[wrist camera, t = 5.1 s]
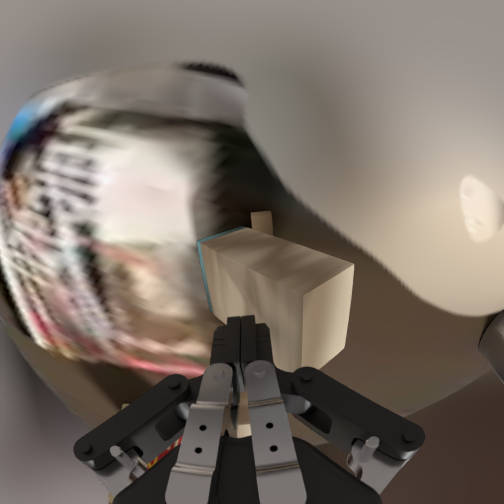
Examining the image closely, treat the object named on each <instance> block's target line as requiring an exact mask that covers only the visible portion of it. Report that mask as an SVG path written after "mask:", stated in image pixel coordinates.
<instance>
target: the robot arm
mask: <svg viewBox="0 0 504 504" xmlns="http://www.w3.org/2000/svg"><path fill="white" fill-rule="evenodd" d="M479 351H480V353H481V354H482V355H483V356H484V358H485V359H486V360H487V362H488V363H489V364H490V365H491V367H492V368H493V369H494V371H495V372H496V373H497V375H498V376H499V377H500V379H501V380H502V382H503V383H504V310H502V311H501V312H500V313H499V314H498V315H497V316H496V317H495V318H494V320H493V321H492V322H491V323H490V325H489V326H488V328H487V329H486V331H485V333H484V335H483V337H482V339H481V341H480V344H479ZM245 387H246V392H247V396H248V410H249V419H250V427H251V435H250V436H246V437H242V438H237V431H238V421H239V412H240V392H245ZM286 412H288V413H292V415H293V416H294V417H295V418H296V419H298V420H299V421H300V422H302V423H303V424H304V425H306V426H307V427H309V428H310V429H311V430H313V431H314V432H316V433H317V434H319V435H320V436H321V437H323V438H324V439H326V440H327V441H329V442H330V443H332V444H333V445H335V446H336V447H338V448H339V449H341V450H342V451H344V452H346V453H347V454H349V455H348V458H347V463H348V466H349V468H350V469H352V470H353V471H354V473H355V474H356V477H355V476H354V475H352V474H351V473H349V472H347V471H346V470H345V469H344V468H342V467H341V466H339V465H338V464H337V463H335V462H334V461H332V460H331V459H330V458H328V457H327V456H326V455H324V454H323V453H322V452H320V451H319V450H318V449H316V448H315V447H314V446H313V445H311V444H310V443H308V442H306V441H305V440H302V439H300V438H297V437H292V435H291V431H290V427H289V422H288V418H287V414H286ZM182 436H183V438H182V442H181V443H180V444H178V445H177V446H175V447H174V448H173V449H171V450H170V451H169V452H168V453H167V454H166V455H165V456H163V457H162V458H161V459H160V460H159V461H158V462H156V463H155V464H154V465H153V466H152V467H150V468H149V469H148V470H147V464H148V463H150V462H151V461H152V460H154V459H155V458H156V457H157V456H159V455H160V454H161V453H162V452H164V451H165V450H166V449H167V448H168V447H170V446H171V445H172V444H173V443H175V442H176V441H177V440H178V439H179V438H180V437H182ZM424 440H425V433H424V431H423V429H422V428H421V427H420V426H419V425H417V424H415V423H413V422H411V421H409V420H407V419H405V418H403V417H401V416H399V415H397V414H395V413H393V412H392V411H390V410H388V409H386V408H384V407H382V406H380V405H378V404H377V403H375V402H373V401H371V400H369V399H368V398H366V397H364V396H362V395H360V394H359V393H357V392H355V391H353V390H352V389H350V388H348V387H346V386H345V385H343V384H341V383H339V382H338V381H336V380H334V379H333V378H331V377H329V376H328V375H326V374H324V373H323V372H321V371H319V370H318V369H316V368H314V367H309V366H306V367H301V368H298V369H296V370H295V371H294V372H287V371H283V370H280V369H279V368H277V367H276V366H275V364H274V362H273V354H272V345H271V337H270V328H269V327H268V326H267V325H266V323H258V324H256V322H255V315H245V316H233V317H227V326H220V327H218V328H217V330H216V331H215V332H214V337H213V344H212V352H211V359H210V366H209V367H207V368H206V370H205V371H204V374H203V375H201V376H199V377H196V378H192V379H189V380H187V378H186V377H185V376H183V375H180V374H173V375H170V376H167V377H166V378H164V379H163V380H162V381H160V382H159V383H158V384H156V385H155V386H154V387H152V388H151V389H150V390H148V391H147V392H146V393H144V394H143V395H142V396H140V397H139V398H137V399H136V400H135V401H133V402H132V403H131V404H129V405H128V406H126V407H125V408H124V409H122V410H121V411H119V412H118V413H116V414H115V415H114V416H112V417H111V418H109V419H108V420H106V421H105V422H104V423H102V424H101V425H99V426H98V427H96V428H95V429H93V430H92V431H90V432H89V433H87V434H86V435H85V436H83V437H81V438H80V439H79V440H77V442H76V443H75V445H74V454H75V456H76V457H77V459H79V460H80V461H81V462H83V463H84V464H85V465H86V467H88V468H89V469H90V470H91V471H93V472H94V473H95V474H96V476H97V477H98V478H99V480H100V481H101V482H102V484H103V485H104V486H105V487H106V489H107V490H108V491H109V492H110V494H111V495H112V496H113V497H114V499H113V502H112V504H383V503H382V499H381V497H380V495H379V494H380V493H381V492H382V490H383V489H384V488H385V487H386V485H387V484H388V483H389V482H390V480H391V479H392V478H393V477H394V475H395V474H396V473H397V472H398V471H399V470H400V469H401V468H402V467H403V466H404V465H405V463H406V462H407V461H408V460H409V459H410V458H411V457H412V456H413V455H414V454H415V452H416V451H417V450H418V449H419V448H420V447H421V446H422V444H423V443H424Z"/></svg>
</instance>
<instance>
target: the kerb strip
mask: <svg viewBox="0 0 504 504" xmlns="http://www.w3.org/2000/svg"><path fill="white" fill-rule="evenodd" d="M251 221H252V229H253V230H256V231H259V232H262V233H266V234H269V235H271V236H273V226H272V214H271V211H261V212H251ZM275 366H276V367H277V368H279V367H278V366H277V365H275ZM279 369H280V368H279Z"/></svg>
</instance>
